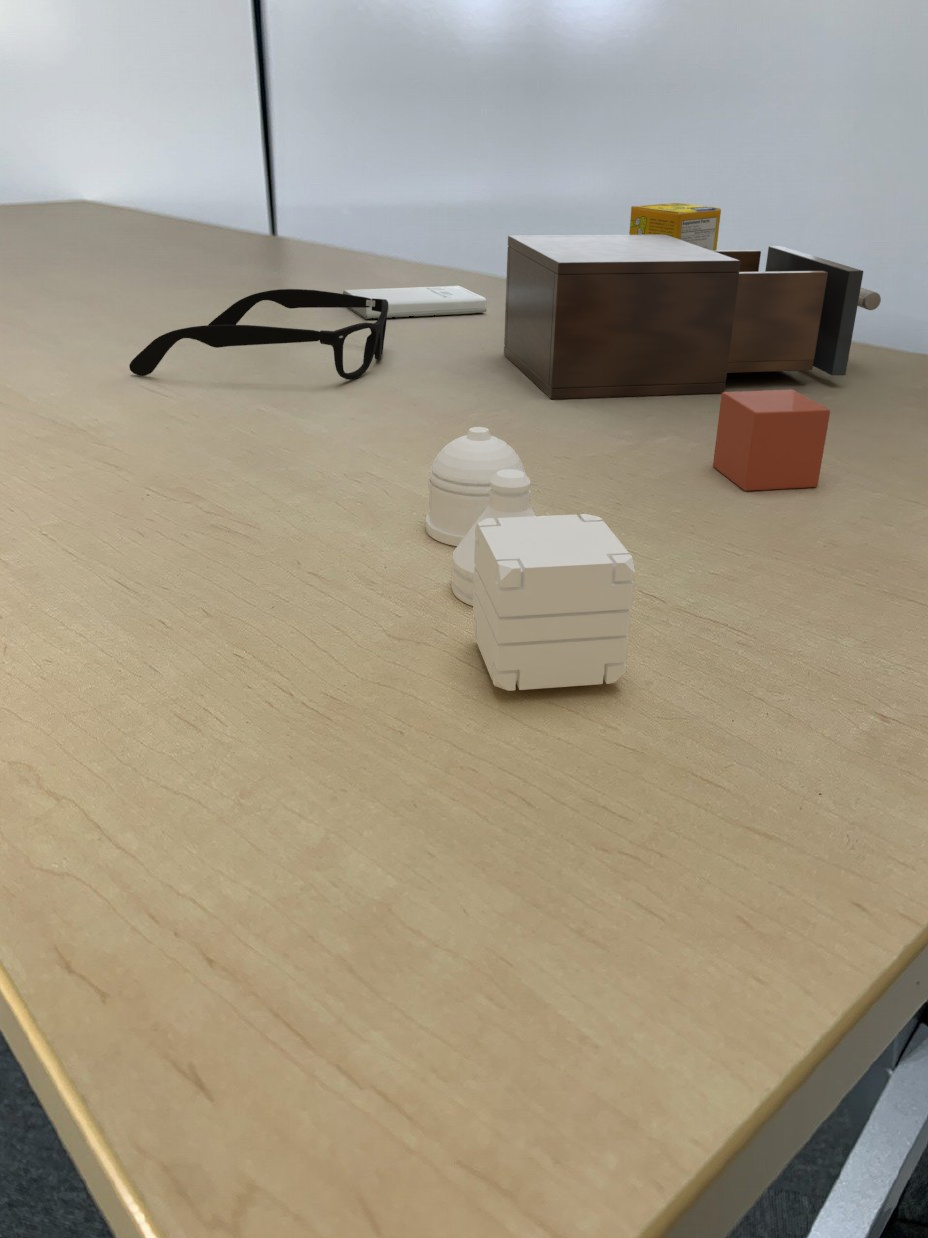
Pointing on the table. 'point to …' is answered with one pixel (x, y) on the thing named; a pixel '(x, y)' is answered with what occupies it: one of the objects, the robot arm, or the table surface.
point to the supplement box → (678, 222)
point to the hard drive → (422, 301)
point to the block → (770, 439)
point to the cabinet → (619, 314)
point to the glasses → (276, 329)
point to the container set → (529, 571)
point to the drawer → (794, 312)
